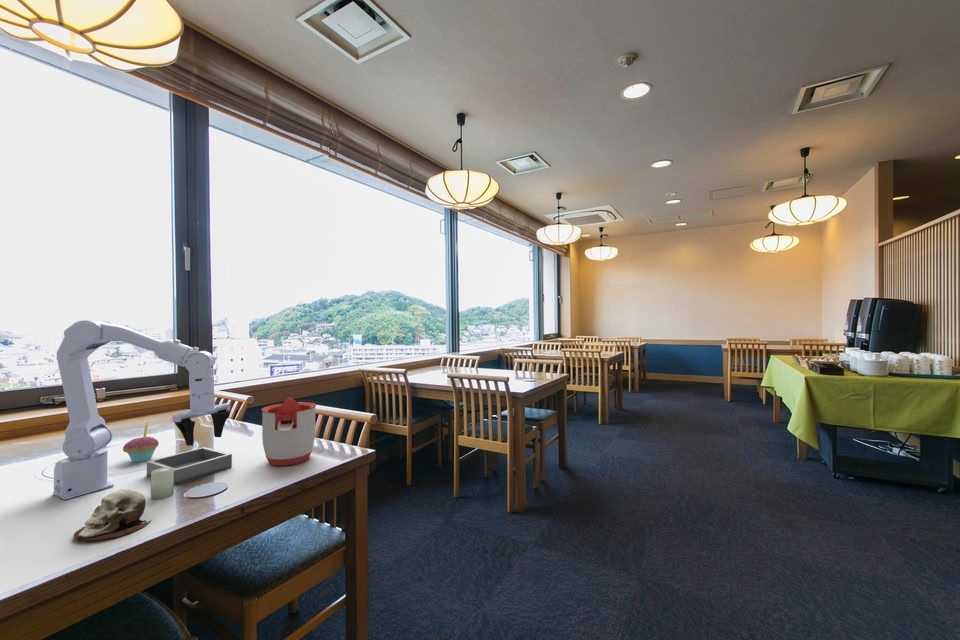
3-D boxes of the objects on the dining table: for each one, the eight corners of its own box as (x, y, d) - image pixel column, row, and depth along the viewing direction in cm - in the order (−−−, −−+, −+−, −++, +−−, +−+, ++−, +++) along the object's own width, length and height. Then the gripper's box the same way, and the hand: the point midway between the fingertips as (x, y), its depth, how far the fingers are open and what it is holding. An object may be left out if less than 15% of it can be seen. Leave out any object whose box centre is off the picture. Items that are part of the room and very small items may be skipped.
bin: (173, 485, 104) (173, 470, 104) (146, 475, 111) (146, 461, 111) (231, 467, 117) (231, 454, 117) (204, 459, 124) (204, 446, 124)
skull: (91, 546, 74) (74, 499, 77) (75, 571, 77) (59, 525, 80) (165, 516, 84) (148, 476, 87) (148, 539, 88) (132, 500, 91)
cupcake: (165, 456, 127) (165, 419, 128) (140, 465, 119) (140, 426, 119) (141, 455, 128) (142, 418, 128) (115, 464, 120) (115, 425, 120)
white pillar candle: (156, 501, 95) (156, 474, 95) (147, 497, 97) (147, 471, 97) (176, 494, 99) (177, 468, 99) (168, 490, 101) (168, 466, 101)
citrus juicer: (254, 474, 112) (254, 404, 112) (266, 455, 128) (267, 394, 128) (313, 467, 116) (313, 401, 117) (318, 450, 133) (318, 391, 133)
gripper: (182, 399, 103) (185, 450, 103) (236, 389, 116) (238, 434, 116) (166, 398, 106) (169, 448, 106) (220, 388, 119) (222, 432, 119)
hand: (204, 440), depth 111 cm, fingers open, 7 cm apart
